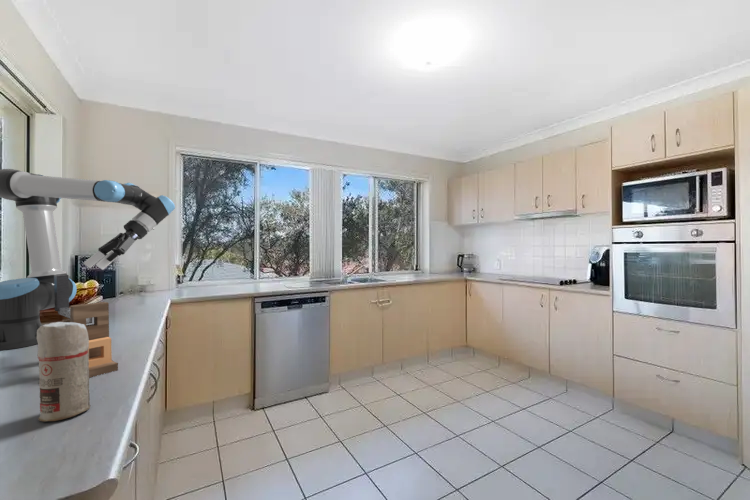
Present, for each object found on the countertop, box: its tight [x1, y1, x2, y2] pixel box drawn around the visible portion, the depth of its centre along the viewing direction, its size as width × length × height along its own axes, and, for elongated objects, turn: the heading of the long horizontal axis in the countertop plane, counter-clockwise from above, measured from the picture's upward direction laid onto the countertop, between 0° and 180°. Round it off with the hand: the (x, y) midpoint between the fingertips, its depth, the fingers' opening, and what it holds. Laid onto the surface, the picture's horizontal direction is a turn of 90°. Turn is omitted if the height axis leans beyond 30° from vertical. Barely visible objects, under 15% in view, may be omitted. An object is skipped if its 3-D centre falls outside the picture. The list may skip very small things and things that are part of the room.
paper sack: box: [37, 321, 91, 422], centre depth 72 cm, size 8×8×20 cm
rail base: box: [61, 301, 119, 379], centre depth 101 cm, size 30×8×19 cm, turn 56°
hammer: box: [54, 274, 93, 325], centre depth 106 cm, size 28×3×13 cm, turn 56°
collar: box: [88, 336, 113, 367], centre depth 96 cm, size 2×7×7 cm, turn 146°
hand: (92, 266), depth 120 cm, fingers open, 13 cm apart
